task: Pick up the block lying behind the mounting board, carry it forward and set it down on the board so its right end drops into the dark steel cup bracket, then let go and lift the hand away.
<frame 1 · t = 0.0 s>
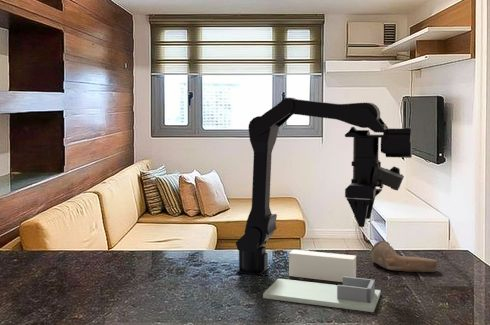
hand: (364, 222, 126), 15 cm above the countertop, fingers open, 9 cm apart
pipe: (403, 269, 140), on the countertop
block: (322, 278, 132), on the countertop
bracket board: (322, 296, 119), on the countertop
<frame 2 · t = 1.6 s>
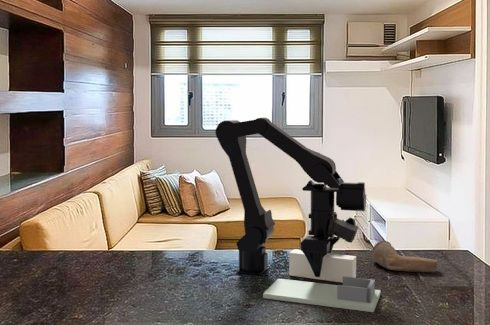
hand: (322, 271, 132), 1 cm above the countertop, fingers open, 9 cm apart
nothing on the countertop moved.
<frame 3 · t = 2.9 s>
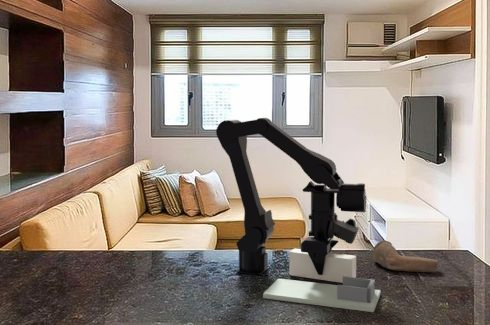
hand: (322, 272, 132), 1 cm above the countertop, fingers closed on block, 4 cm apart
block: (322, 277, 132), on the countertop, touching gripper
everything else where it was.
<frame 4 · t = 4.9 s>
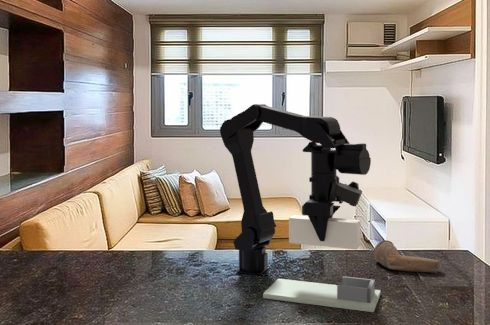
hand: (323, 239, 124), 11 cm above the countertop, fingers closed on block, 4 cm apart
block: (324, 244, 124), point 10 cm above the countertop, touching gripper
everything else where it was.
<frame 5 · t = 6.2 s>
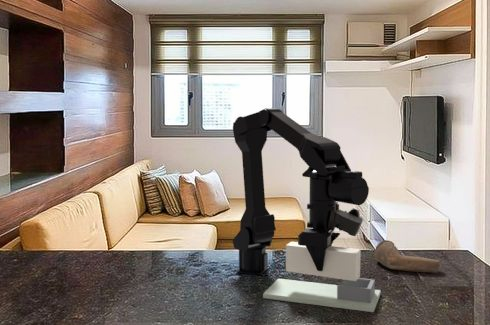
hand: (322, 268, 118), 6 cm above the countertop, fingers closed on block, 4 cm apart
block: (322, 273, 118), point 5 cm above the countertop, touching gripper
everything else where it was.
when the fingers open (3 cm above the countertop, at t = 7.0 s): block drops 1 cm, resting on bracket board.
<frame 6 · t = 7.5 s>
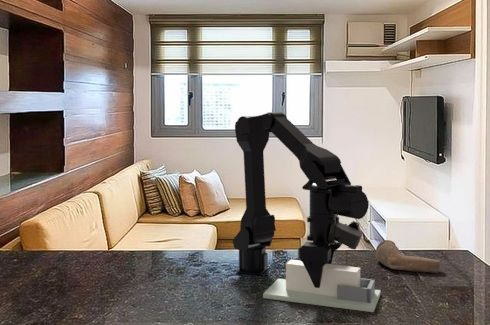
hand: (322, 280, 119), 3 cm above the countertop, fingers open, 9 cm apart
block: (322, 291, 119), point 1 cm above the countertop, touching bracket board
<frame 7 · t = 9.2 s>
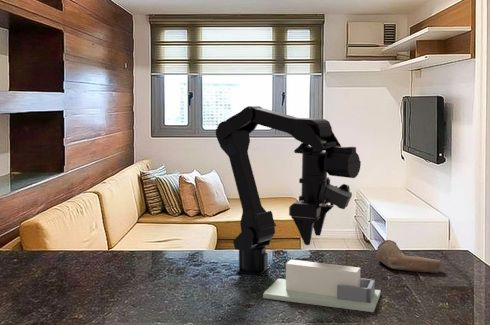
hand: (312, 239, 125), 11 cm above the countertop, fingers open, 9 cm apart
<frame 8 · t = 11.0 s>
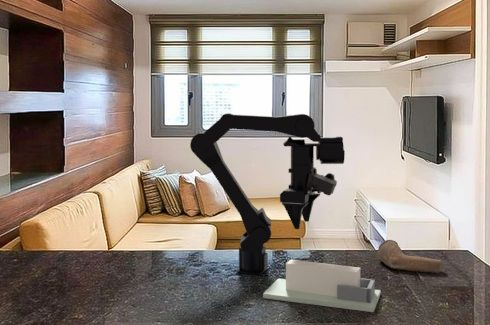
hand: (302, 225, 136), 12 cm above the countertop, fingers open, 9 cm apart
at the end: block 0.0 cm off-centre on the bracket board, point 1.0 cm above the bracket board's base; block tilted 0°; the gripper is holding nothing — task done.
